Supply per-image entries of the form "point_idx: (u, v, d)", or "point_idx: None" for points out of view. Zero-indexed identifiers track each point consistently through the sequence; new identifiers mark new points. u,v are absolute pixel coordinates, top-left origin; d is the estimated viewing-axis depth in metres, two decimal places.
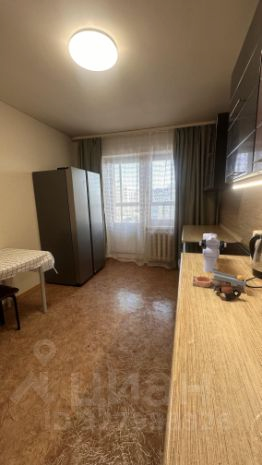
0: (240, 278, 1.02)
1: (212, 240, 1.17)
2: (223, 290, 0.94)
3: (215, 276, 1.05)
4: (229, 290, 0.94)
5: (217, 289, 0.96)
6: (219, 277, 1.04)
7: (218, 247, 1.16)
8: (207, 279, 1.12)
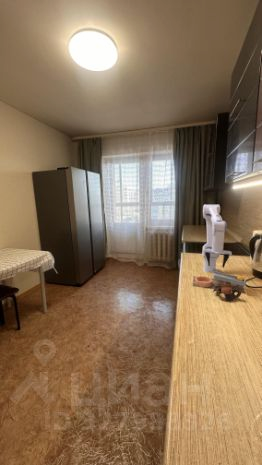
0: (240, 278, 1.02)
1: None
2: (223, 290, 0.94)
3: (215, 276, 1.05)
4: (229, 290, 0.93)
5: (217, 289, 0.96)
6: (219, 277, 1.04)
7: None
8: (207, 279, 1.12)
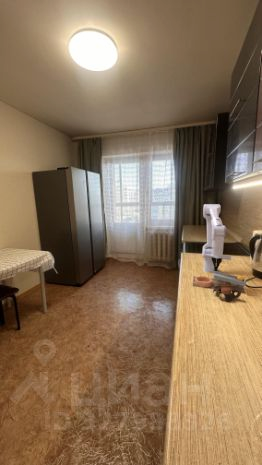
0: (240, 278, 1.02)
1: None
2: (223, 291, 0.93)
3: (215, 276, 1.05)
4: (229, 291, 0.93)
5: (216, 290, 0.95)
6: (219, 277, 1.04)
7: None
8: (207, 279, 1.12)
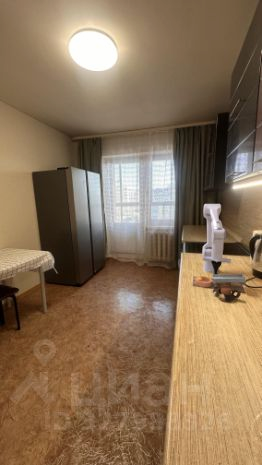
0: (198, 280, 1.10)
1: None
2: (222, 291, 0.93)
3: (214, 280, 1.05)
4: (228, 291, 0.93)
5: (216, 290, 0.95)
6: (218, 280, 1.05)
7: None
8: (207, 279, 1.12)
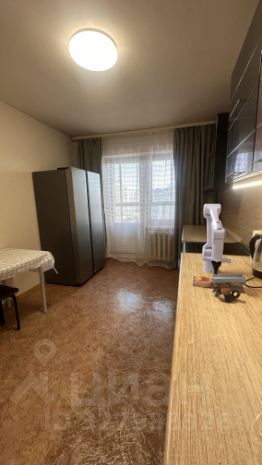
0: (198, 280, 1.10)
1: None
2: (222, 291, 0.93)
3: (214, 280, 1.05)
4: (228, 291, 0.92)
5: (216, 290, 0.95)
6: (218, 280, 1.05)
7: None
8: (207, 279, 1.12)
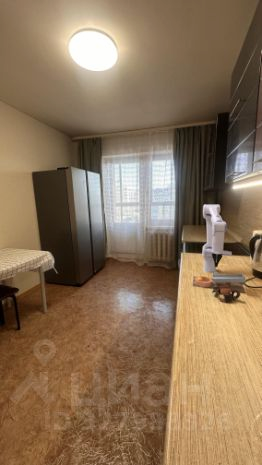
0: (198, 280, 1.10)
1: None
2: (222, 292, 0.92)
3: (214, 280, 1.05)
4: (228, 291, 0.92)
5: (216, 291, 0.95)
6: (218, 280, 1.05)
7: None
8: (207, 279, 1.12)
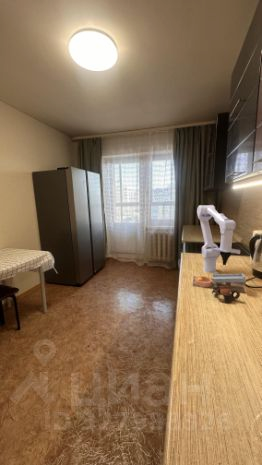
0: (198, 280, 1.10)
1: None
2: (222, 292, 0.92)
3: (214, 280, 1.05)
4: (228, 292, 0.92)
5: (215, 291, 0.94)
6: (218, 280, 1.05)
7: None
8: (207, 279, 1.12)
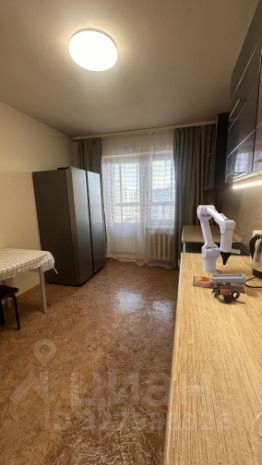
0: (198, 280, 1.10)
1: None
2: (221, 292, 0.92)
3: (214, 280, 1.05)
4: (228, 292, 0.92)
5: (215, 291, 0.94)
6: (218, 280, 1.05)
7: None
8: (207, 279, 1.12)
